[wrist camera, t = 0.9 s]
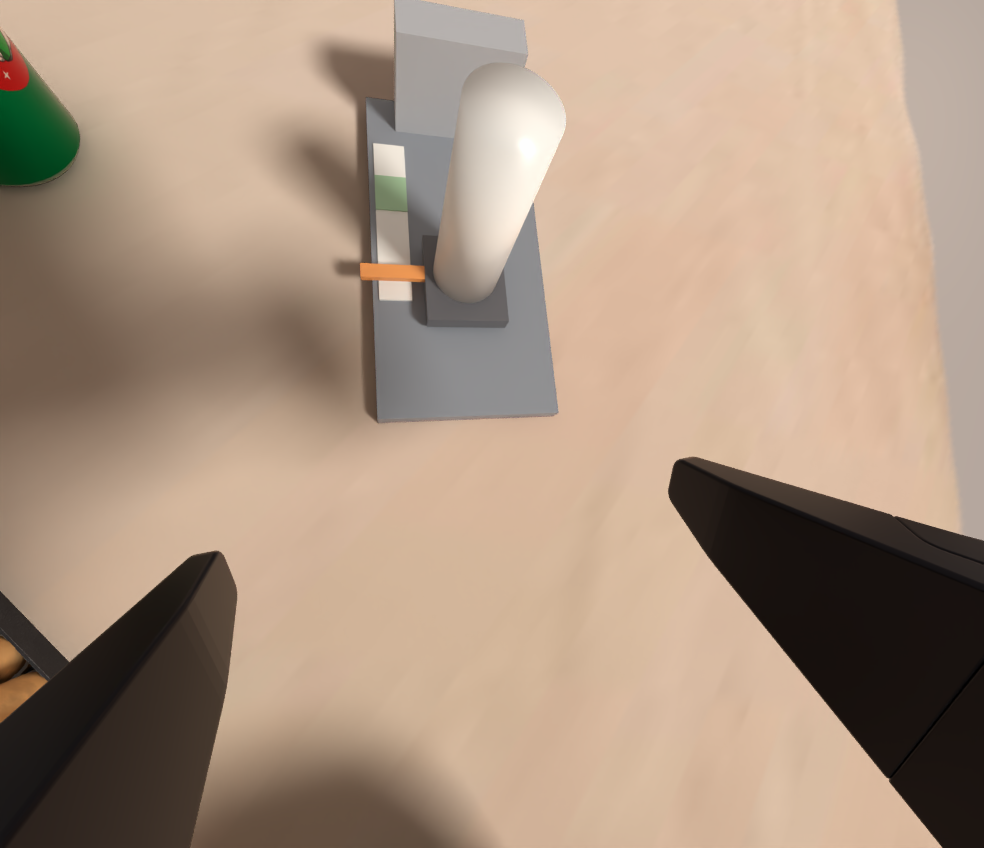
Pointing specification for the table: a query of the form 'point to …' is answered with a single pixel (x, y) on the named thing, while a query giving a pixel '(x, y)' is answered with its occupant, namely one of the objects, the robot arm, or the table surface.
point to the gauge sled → (485, 196)
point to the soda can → (31, 124)
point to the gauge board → (416, 212)
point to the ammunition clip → (23, 658)
